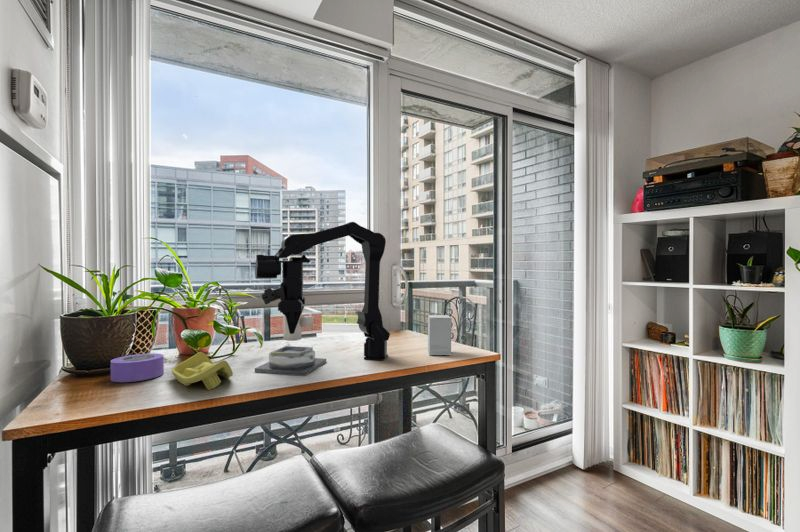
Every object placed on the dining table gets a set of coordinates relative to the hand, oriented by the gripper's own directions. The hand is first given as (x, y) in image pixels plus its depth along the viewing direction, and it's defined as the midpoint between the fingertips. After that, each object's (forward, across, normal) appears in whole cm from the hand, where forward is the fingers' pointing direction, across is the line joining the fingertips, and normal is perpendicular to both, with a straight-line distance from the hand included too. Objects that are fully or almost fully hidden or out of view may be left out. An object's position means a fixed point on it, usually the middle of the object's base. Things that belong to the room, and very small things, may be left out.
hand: (292, 332), depth 118 cm
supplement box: (+10, -10, +47) cm, 49 cm away
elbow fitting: (+2, 0, +2) cm, 3 cm away
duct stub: (+10, 0, 0) cm, 10 cm away
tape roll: (+10, +4, -39) cm, 41 cm away
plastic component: (+10, +12, -21) cm, 27 cm away
